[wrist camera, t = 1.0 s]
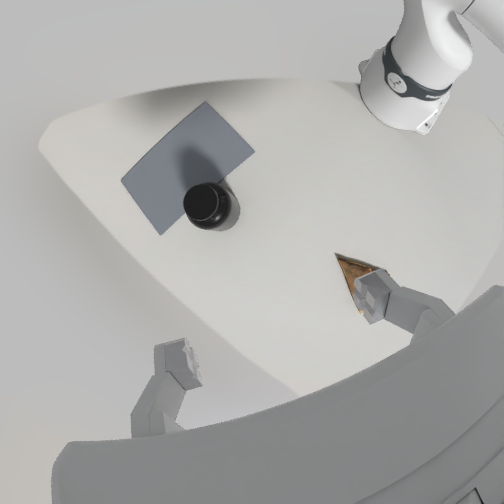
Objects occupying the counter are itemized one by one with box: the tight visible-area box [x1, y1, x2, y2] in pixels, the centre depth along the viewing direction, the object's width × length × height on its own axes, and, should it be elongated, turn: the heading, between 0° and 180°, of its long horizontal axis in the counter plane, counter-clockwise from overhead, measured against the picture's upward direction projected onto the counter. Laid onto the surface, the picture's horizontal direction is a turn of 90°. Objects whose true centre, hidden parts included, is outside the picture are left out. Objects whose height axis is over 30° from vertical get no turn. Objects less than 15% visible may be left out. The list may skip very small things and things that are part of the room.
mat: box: [121, 102, 255, 235], centre depth 46 cm, size 22×14×1 cm, turn 130°
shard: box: [338, 257, 390, 313], centre depth 44 cm, size 11×8×2 cm
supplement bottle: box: [183, 182, 240, 231], centre depth 40 cm, size 7×7×12 cm
